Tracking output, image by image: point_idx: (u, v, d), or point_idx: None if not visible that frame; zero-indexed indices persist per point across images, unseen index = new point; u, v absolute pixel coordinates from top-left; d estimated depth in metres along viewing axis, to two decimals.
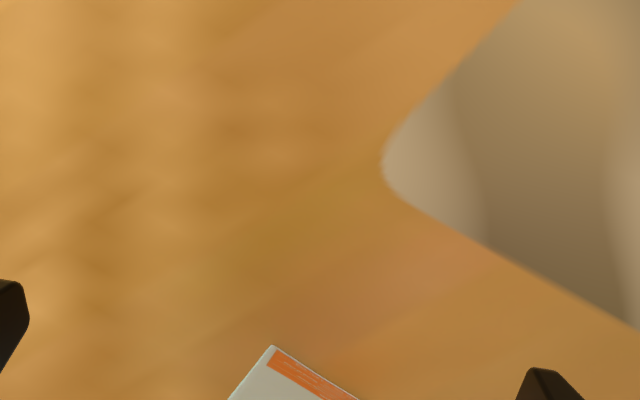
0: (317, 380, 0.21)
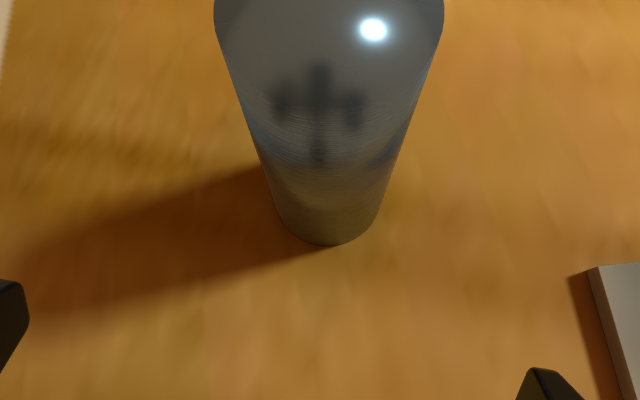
0: None
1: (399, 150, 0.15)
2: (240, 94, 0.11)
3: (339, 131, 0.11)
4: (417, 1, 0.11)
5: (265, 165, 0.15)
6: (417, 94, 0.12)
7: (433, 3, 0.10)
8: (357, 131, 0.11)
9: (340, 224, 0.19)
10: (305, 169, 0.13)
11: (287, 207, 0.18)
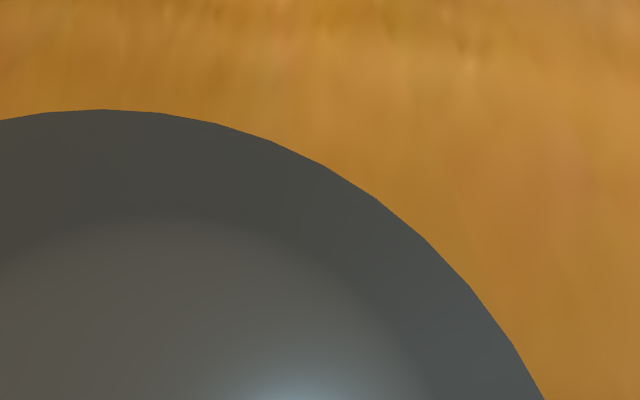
0: None
1: None
2: None
3: None
4: None
5: None
6: None
7: None
8: None
9: None
10: None
11: None
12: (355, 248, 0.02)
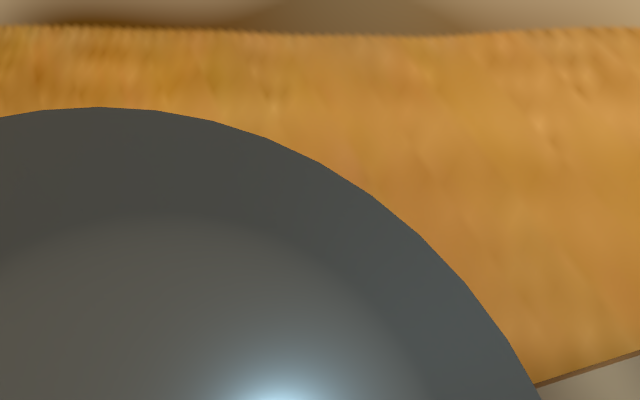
0: None
1: None
2: None
3: None
4: None
5: None
6: None
7: None
8: None
9: None
10: None
11: None
12: (349, 246, 0.02)
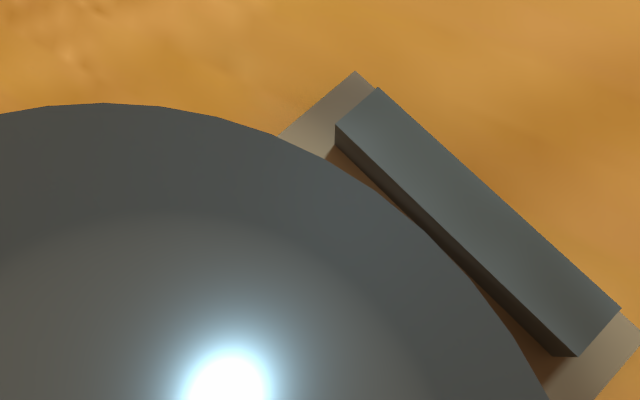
0: None
1: None
2: None
3: None
4: None
5: None
6: None
7: None
8: None
9: None
10: None
11: None
12: (355, 241, 0.02)
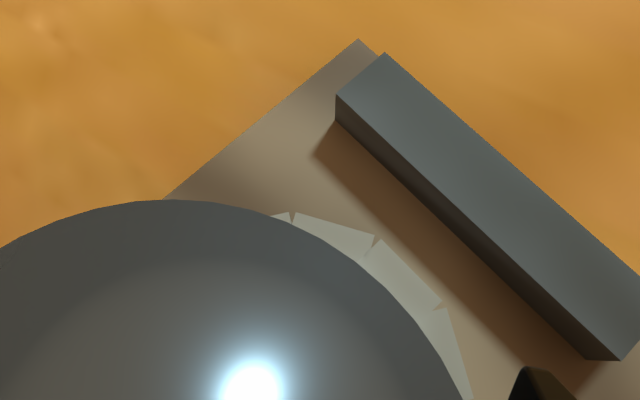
0: None
1: None
2: None
3: None
4: None
5: None
6: None
7: None
8: None
9: None
10: None
11: None
12: (341, 295, 0.04)
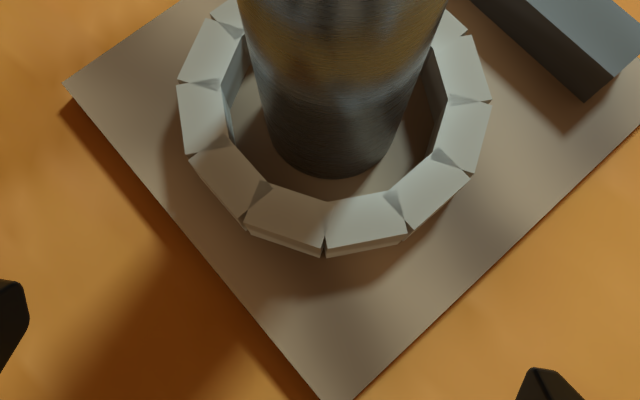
0: None
1: (439, 21, 0.11)
2: None
3: None
4: None
5: (252, 34, 0.11)
6: None
7: None
8: None
9: (349, 140, 0.14)
10: (309, 16, 0.09)
11: (281, 113, 0.14)
12: None
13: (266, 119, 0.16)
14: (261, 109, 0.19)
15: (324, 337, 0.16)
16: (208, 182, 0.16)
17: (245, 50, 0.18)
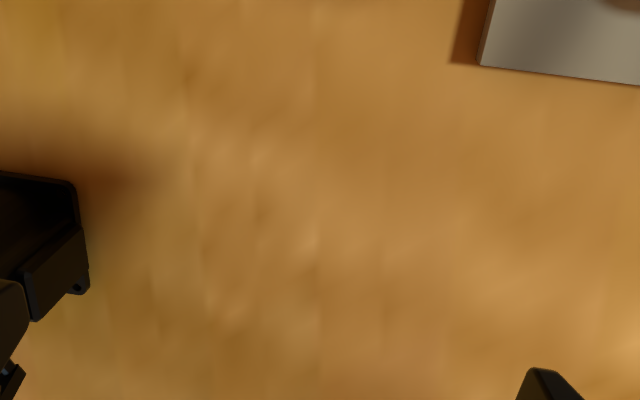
0: None
1: None
2: None
3: None
4: None
5: None
6: None
7: None
8: None
9: None
10: None
11: None
12: None
13: None
14: None
15: (537, 7, 0.16)
16: None
17: None
